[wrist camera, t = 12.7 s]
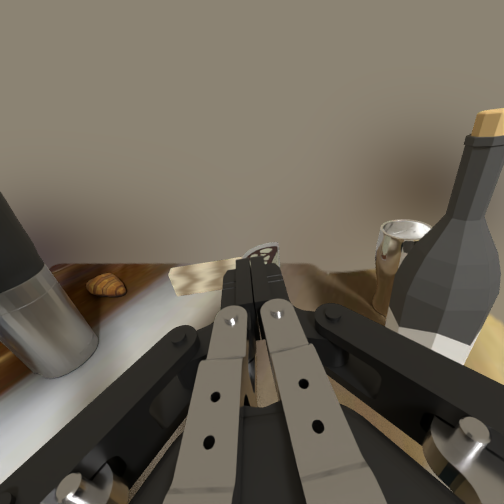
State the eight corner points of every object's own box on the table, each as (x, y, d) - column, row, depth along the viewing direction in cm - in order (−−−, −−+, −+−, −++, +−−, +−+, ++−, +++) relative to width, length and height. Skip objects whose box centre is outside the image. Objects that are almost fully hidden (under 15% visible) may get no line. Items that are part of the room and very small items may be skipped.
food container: (256, 278, 54) (249, 240, 49) (282, 280, 52) (278, 240, 47) (238, 319, 44) (227, 276, 39) (270, 323, 42) (263, 278, 37)
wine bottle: (449, 360, 31) (565, 96, 16) (455, 421, 26) (639, 102, 11) (381, 340, 36) (424, 113, 21) (374, 388, 30) (425, 125, 15)
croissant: (137, 287, 58) (129, 270, 56) (114, 305, 53) (104, 288, 51) (103, 279, 64) (94, 264, 62) (79, 295, 59) (68, 280, 57)
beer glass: (366, 314, 40) (377, 237, 33) (370, 289, 45) (380, 217, 38) (415, 325, 37) (439, 242, 29) (414, 297, 42) (434, 220, 34)
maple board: (177, 296, 52) (168, 274, 49) (179, 289, 55) (171, 268, 52) (274, 281, 52) (271, 258, 49) (272, 274, 54) (269, 252, 51)
